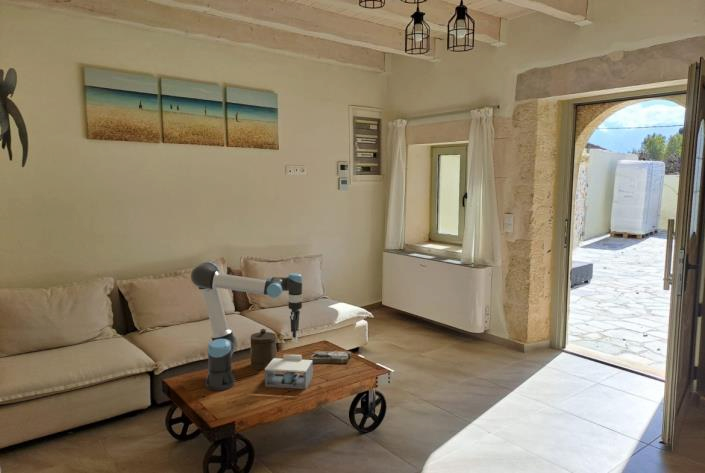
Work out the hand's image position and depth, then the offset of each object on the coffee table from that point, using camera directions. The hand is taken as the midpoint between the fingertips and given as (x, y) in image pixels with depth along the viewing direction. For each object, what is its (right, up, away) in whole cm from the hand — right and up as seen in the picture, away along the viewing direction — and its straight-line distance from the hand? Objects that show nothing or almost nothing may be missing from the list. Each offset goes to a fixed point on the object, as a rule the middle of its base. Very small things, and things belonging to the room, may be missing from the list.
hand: (294, 342), depth 268 cm
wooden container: (-20, -17, +14) cm, 30 cm away
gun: (+19, -16, +23) cm, 34 cm away
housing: (-1, -19, -12) cm, 23 cm away
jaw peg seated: (-1, -18, -8) cm, 20 cm away
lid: (-1, -10, -13) cm, 16 cm away
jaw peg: (-2, -19, -16) cm, 25 cm away
